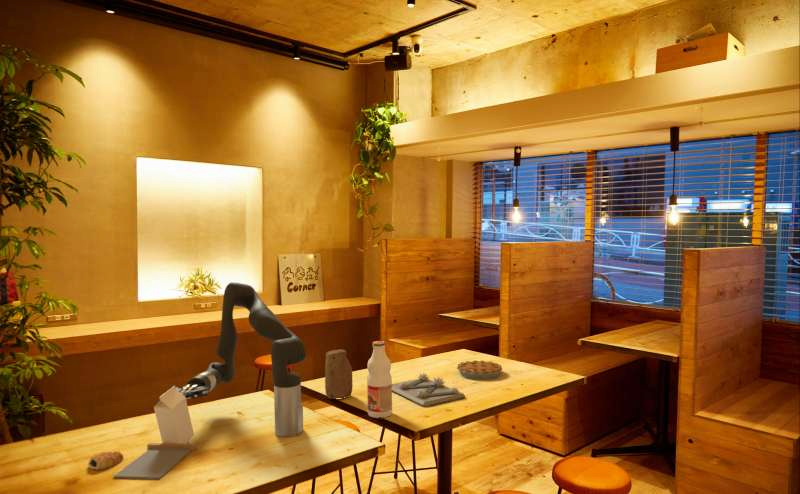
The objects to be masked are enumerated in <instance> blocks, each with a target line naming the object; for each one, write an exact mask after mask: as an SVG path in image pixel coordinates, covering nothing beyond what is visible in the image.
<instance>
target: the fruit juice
mask: <svg viewBox="0 0 800 494" xmlns="http://www.w3.org/2000/svg"><path fill="white" fill-rule="evenodd" d="M385 347H386V342H385V341H384V340H382V341H381V340H376V341H372V348H373V350H372V354H371V357H370V358H369V359H368V361H367V366H366V367H367V371H368V375H367V379H366V380H367V381H366V382H367V383H366V386H367V389H366V390H367V393H366V394H367V414H368V416H369V417H371V418H374V419H380V418H379V417H385V418H388V417H387V416H389V417H391V415H392V414H393V391H392V384H393V382H392V380H393V379H392V374H391V370H392V361H391V359H389V357H388V356H387V353H386V350H385V349H386V348H385Z"/></svg>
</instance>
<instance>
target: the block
mask: <svg viewBox="0 0 800 494" xmlns="http://www.w3.org/2000/svg"><path fill="white" fill-rule="evenodd" d="M347 354H348V353H347V351H346V350H345V349H333V350H328V351H326V353H325V367H324V368H325V370H324V373H325V374H324V377H325V378H324V389H325V390H324V391H325V395H326V397H327V398H328V399H329V400H331V399H336V398H344V397H347V398H349V397H351V396H352V392H353V367H352V365H351V363H350V361H349V359H348V358H347ZM348 396H349V397H348ZM330 398H331V399H330ZM344 399H345V398H344Z"/></svg>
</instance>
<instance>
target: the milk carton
mask: <svg viewBox="0 0 800 494" xmlns="http://www.w3.org/2000/svg"><path fill="white" fill-rule="evenodd" d="M175 387H176V386H175V385H173V386H172V387H171V388H169V389H168V390H167V391H166V392H164V393H163V394H161V395H160V396H159V397H158V398H159V401H158V402H157V403H156V404H155V405H154V406H153V409H154V414H155V418H156V421H157V426H158V430H159V435H160V439H161V443H168V444H188V442H190V441H191V440H192V439H193V438H194V437H195V433H194V429H193V424H192V420H191V415H190V410H189V407H188V403H187V399H186V397H185V396H184V395H182V394H181V393H180V392H179V391H178V390H177V389H175Z"/></svg>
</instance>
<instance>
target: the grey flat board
mask: <svg viewBox="0 0 800 494" xmlns="http://www.w3.org/2000/svg"><path fill="white" fill-rule="evenodd" d="M146 446H147V447H146V451H145V452H144V453H142V454H140V456H138V457H137V458H136V459H134V460H133V461H131V462H130V463H129V464H128V465H126V466H125V467H124V468H123V469H121V470H119V471H118V472H117V473H116V474H114V475H113V479H129V480H131V479H132V480H133V479H134V480H137V479H140V480H161V479H162V478H163V477H164V476H165V475H166V474H167V473H168V472H170V471H171V470H172V469H173V468H174V467H175V466H176V465H178V464H179V463H180V462H182V460H183V459H185V458H186V457H187V456H188V455H189V454H190V453H191V452H196V450H197V443H186V444H168V443H162V442H161V443H160V442H159V443H158V442H157V443H156V442H155V443H154V442H149V443H147V444H146Z"/></svg>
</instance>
